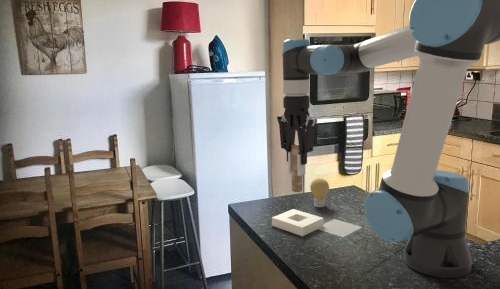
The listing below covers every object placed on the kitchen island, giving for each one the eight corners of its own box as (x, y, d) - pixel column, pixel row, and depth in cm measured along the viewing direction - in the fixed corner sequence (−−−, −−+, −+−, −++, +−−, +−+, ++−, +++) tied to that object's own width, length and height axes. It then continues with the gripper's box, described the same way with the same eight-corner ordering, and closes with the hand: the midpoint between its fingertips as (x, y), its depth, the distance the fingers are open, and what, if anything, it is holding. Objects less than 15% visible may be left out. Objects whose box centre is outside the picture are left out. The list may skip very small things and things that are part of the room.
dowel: (304, 190, 127) (304, 144, 124) (297, 192, 124) (297, 146, 122) (296, 188, 129) (296, 143, 126) (289, 190, 127) (289, 145, 124)
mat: (362, 228, 126) (362, 227, 126) (343, 238, 119) (343, 237, 119) (334, 220, 133) (334, 218, 133) (314, 229, 126) (314, 228, 126)
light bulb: (329, 210, 142) (329, 181, 140) (310, 209, 143) (310, 181, 141) (328, 203, 148) (328, 176, 146) (310, 203, 149) (310, 176, 147)
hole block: (323, 227, 128) (323, 217, 127) (302, 237, 121) (302, 227, 120) (293, 217, 136) (293, 208, 136) (272, 226, 130) (271, 217, 129)
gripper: (327, 94, 118) (326, 175, 122) (284, 92, 129) (285, 166, 134) (310, 97, 113) (310, 181, 117) (267, 94, 124) (268, 171, 129)
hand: (296, 173), depth 126 cm, fingers closed on dowel, 3 cm apart
